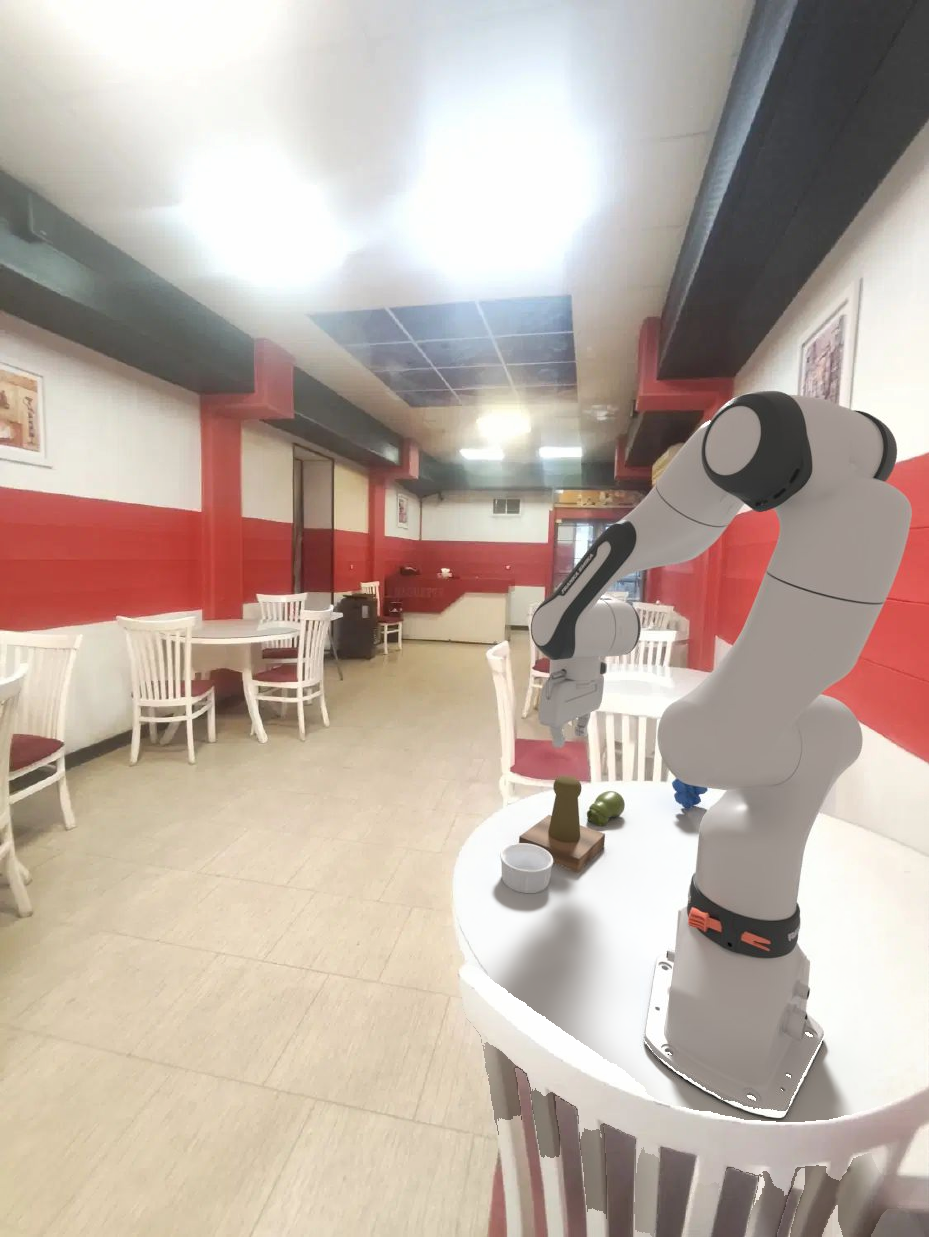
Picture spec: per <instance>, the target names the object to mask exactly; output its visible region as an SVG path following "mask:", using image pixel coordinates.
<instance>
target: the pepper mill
mask: <svg viewBox="0 0 929 1237" xmlns="http://www.w3.org/2000/svg"><path fill="white" fill-rule="evenodd" d="M552 786H553V792H554V794H555V797H554V801H553V808H552V812H551V821H550V826H549V831H548V834H549V835H550V837H552V838H553V839H555V840H558V841H561V842H575V841H578V840H579V839H580V809H579V797H580V796H581V792H582V784H581V782H580V780H579V779H577V778H576V777H573V776H570V775H560V776H557V778H556V779H555V780H554V782H553V785H552Z"/></svg>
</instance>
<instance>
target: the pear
mask: <svg viewBox="0 0 929 1237" xmlns="http://www.w3.org/2000/svg"><path fill="white" fill-rule="evenodd" d="M622 796H623V795H621V794H620V793H618V792H617V791H613V790H608V791H605V792H602V793H601V794H599V795H598V796H597V797H596V798H595V801H594V802H593V803H591V804H590V806H589V808H588V810H587V812H586V817H587V821H589V822H591V823H592V824H594V825H597V826H599V827H601V826H602V827H603V826H605V825H606V824H608V821H609V819H610V818H616V817H619V816H621V815H622V814H623V812H624V810H625V807H626V805H625V800H624V797H622Z"/></svg>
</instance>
